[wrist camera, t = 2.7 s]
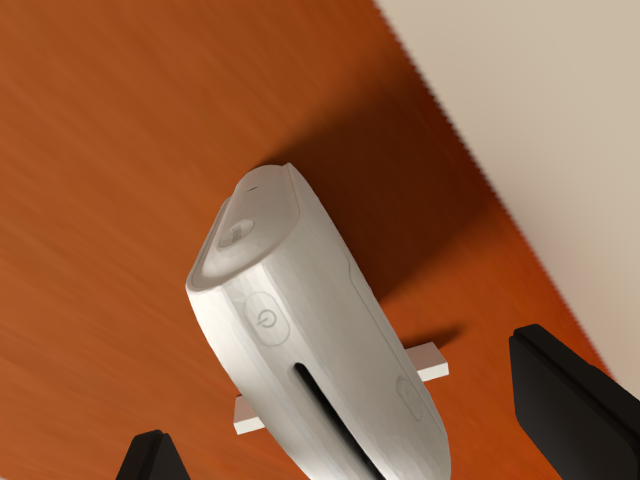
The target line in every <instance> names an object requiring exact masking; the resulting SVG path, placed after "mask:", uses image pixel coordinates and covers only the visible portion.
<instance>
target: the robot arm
mask: <svg viewBox="0 0 640 480" xmlns="http://www.w3.org/2000/svg"><path fill="white" fill-rule="evenodd" d="M509 348H510V359H511V371H512V382H513V393H514V404H515V414H516V417H517V420H518V422H519V424H520V426H521V427H522V429H523V430H524V431H525V432H526V434H527V435H528V436H529V437H530V439H531V440H532V441H533V442H534V444H535V445H536V446H537V448H538V449H539V450H540V451H541V453H542V454H543V455H544V456H545V458H546V459H547V460H548V461H549V463H550V464H551V465H552V466H553V468H554V469H555V470H556V471H557V473H558V474H559V475H560V476H561V478H562V479H563V480H640V401H639V400H638V399H636V398H635V397H634V396H632V395H631V394H630V393H629V392H628V391H626V390H625V389H624V388H622V387H621V386H620V385H619V384H617V383H616V382H615V381H614V380H612V379H611V378H610V377H608V376H607V375H606V374H605V373H603V372H602V371H601V370H599V369H598V368H596V367H595V366H593V365H590V364H588V363H587V362H586V361H585V360H583V359H582V358H581V357H580V356H578V355H577V354H576V353H574V352H573V351H572V350H571V349H569V348H568V347H567V346H566V345H564V344H563V343H562V342H561V341H559V340H558V339H557V338H555V337H554V336H553V335H552V334H550V333H549V332H548V331H547V330H545V329H544V328H543V327H542V326H540V325H538V324H532V325H528V326H525V327H521V328H518V329H515V330H514V332H513V336H511V337H509ZM116 480H191V479H190V477H189V475H188V473H187V471H186V469H185V467H184V465H183V462H182V460H181V458H180V456H179V454H178V452H177V450H176V448H175V446H174V444H173V441H172V439H171V437H170V436H169V434H168V433H165V434H163V433H162V431H160V430H154V431H150V432H147V433H143V434H139V435H136V436H135V437H134V439H133V440H132V442H131V445H130V447H129V449H128V452H127V454H126V457H125V459H124V461H123V464H122V466H121V468H120V471H119V473H118V475H117V478H116Z"/></svg>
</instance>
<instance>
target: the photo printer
mask: <svg viewBox="0 0 640 480" xmlns="http://www.w3.org/2000/svg"><path fill="white" fill-rule="evenodd" d="M186 291H187V294H188V296H189V299H190V302H191V305H192V308H193V310H194V313H195V315H196V318H197V320H198V322H199V324H200V326H201V329H202V331H203V333H204V335H205V336H206V338H207V341H208V342H209V344H210V346H211V347H212V349H213V351H214V352H215V354H216V356H217V357H218V359H219V361H220V363H221V364H222V366H223V367H224V369H225V370H226V372H227V373H228V375H229V376H230V378H231V380H232V381H233V382H234V384H235V385H236V387H237V388H238V390H239V391H240V393H241V394H242V396H243V397H244V399H245V400H246V401H247V403H248V404H249V406H250V407H251V408H252V410H253V411H254V412H255V414H256V415H257V416H258V418H259V419H260V420H261V422H262V423H263V424H264V426H265V427H266V428H267V429H268V431H269V432H270V433H271V434H272V436H273V437H274V438H275V439H276V441H277V442H278V443H279V444H280V446H281V447H282V448H283V449H284V450H285V452H286V453H287V454H288V455H289V456H290V457H291V458H292V460H293V461H294V462H295V463H296V464H297V465H298V466H299V467H300V468H301V470H302V471H303V472H304V473H305V474H306V475H307V476H308V477H309V478H310V479H311V480H450V476H451V460H450V452H449V446H448V437H447V433H446V430H445V427H444V425H443V422H442V420H441V417H440V415H439V413H438V411H437V409H436V407H435V405H434V402H433V400H432V398H431V395H430V393H429V392H428V390H427V389H426V387H425V385H424V383H423V382H422V380H421V378H420V376H419V374H418V372H417V371H416V369H415V367H414V365H413V363H412V362H411V360H410V358H409V356H408V354H407V353H406V351H405V349H404V347H403V346H402V344H401V342H400V340H399V339H398V337H397V335H396V333H395V332H394V330H393V328H392V327H391V325H390V323H389V321H388V320H387V318H386V316H385V314H384V313H383V311H382V309H381V307H380V306H379V304H378V302H377V300H376V299H375V297H374V295H373V293H372V290H371V288H370V287H369V286H368V284H367V282H366V280H365V278H364V276H363V274H362V273H361V271H360V269H359V267H358V265H357V264H356V262H355V260H354V258H353V256H352V255H351V253H350V251H349V249H348V248H347V246H346V244H345V242H344V241H343V239H342V237H341V236H340V234H339V232H338V230H337V229H336V227H335V225H334V224H333V222H332V220H331V219H330V217H329V215H328V214H327V212H326V210H325V209H324V207H323V206H322V204H321V203H320V201H319V198H318V197H317V196H316V195H315V193H314V192H313V190H312V188H311V187H310V185H309V184H308V183H307V181H306V180H305V179H304V177H303V176H302V175H301V174H300V173H299V172H298V170H297V169H296V168H295V167H294V166H293V165H292V164H291V163H287V164H285V165H284V166H279V165H265V166H261V167H258V168H256V169H254V170H252V171H250V172H248V173H247V174H246V175H245V176H244V177H243V178H242V179H241V180H240V181H239V183H238V184H237V186H236V188H235V191H234V193H233V195H232V196H231V197H229V198H227V199H226V200H225V201H224V203H223V205H222V207H221V208H220V210H219V213H218V215H217V217H216V219H215V221H214V223H213V225H212V227H211V229H210V231H209V233H208V235H207V238H206V240H205V242H204V244H203V246H202V248H201V250H200V252H199V254H198V257H197V259H196V261H195V263H194V265H193V267H192V269H191V271H190V273H189V275H188V277H187V281H186Z"/></svg>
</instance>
